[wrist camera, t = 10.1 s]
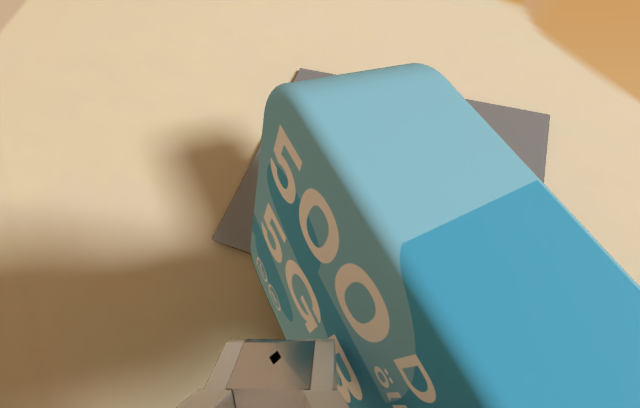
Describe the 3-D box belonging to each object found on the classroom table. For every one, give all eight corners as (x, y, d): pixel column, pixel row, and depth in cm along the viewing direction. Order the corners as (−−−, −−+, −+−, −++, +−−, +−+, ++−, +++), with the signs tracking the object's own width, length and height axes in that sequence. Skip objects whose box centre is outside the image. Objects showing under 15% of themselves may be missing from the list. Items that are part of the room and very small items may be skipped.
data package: (247, 254, 17) (266, 52, 7) (319, 226, 19) (412, 36, 9) (361, 514, 13) (826, 929, 3) (440, 444, 15) (885, 537, 5)
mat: (524, 348, 16) (528, 347, 16) (214, 241, 20) (212, 239, 20) (546, 118, 21) (549, 114, 21) (301, 72, 26) (300, 68, 25)
